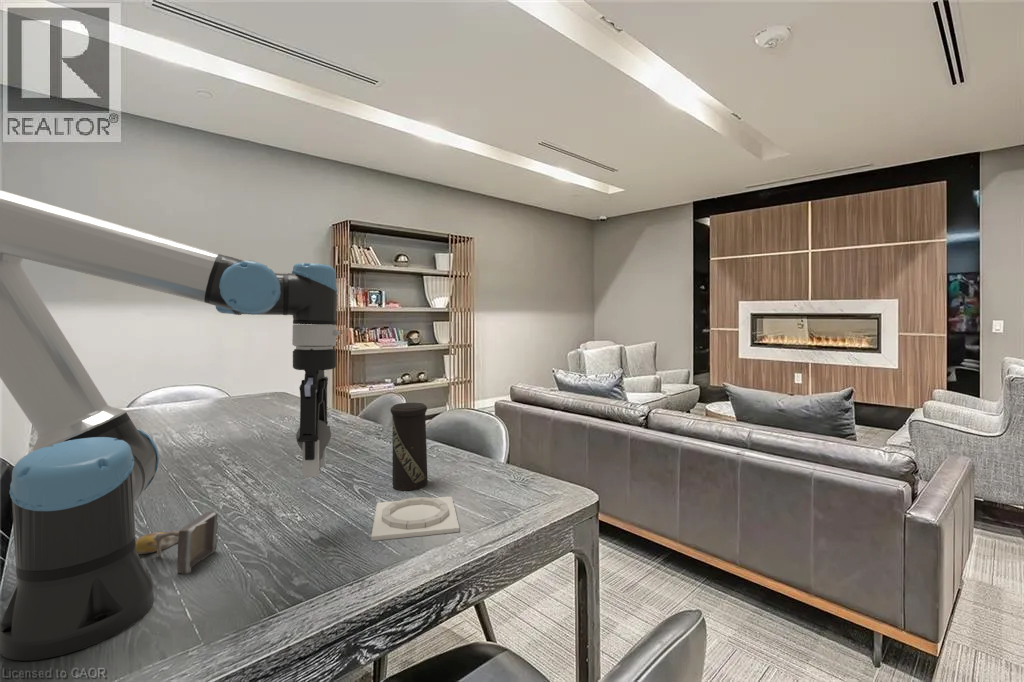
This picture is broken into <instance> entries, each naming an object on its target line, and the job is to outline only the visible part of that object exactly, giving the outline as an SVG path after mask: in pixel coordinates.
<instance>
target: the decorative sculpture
mask: <svg viewBox="0 0 1024 682" xmlns="http://www.w3.org/2000/svg"><path fill="white" fill-rule="evenodd" d="M218 527H219V522H218V515H217V513H216V512H213V511H206V512H204V513H202V514H201V515H200V516H198V517H196V518H195V519H194V520H192V521H190V522H189V523H188V524H186V525H185V526H183V527H182V528H180V530H171V531H155V532H150V533H146V534H143V535H140V536H139V537H138V538H137V539H135V540H136V551H137V553H138V555H145V554H146V555H147V554H151V553H155V552H156V554H157V555H158V557H159V558H160V557H162V550H164V549H165V550H166V549H168V548H170V547H172V546H174V545H176V544H177V558H176V560H177V562H176V571H177V573H178V574H190V573H192V567H194V565H196V564H198V563H199V562H200V561H204V560H205V559H206V558H207V557H208V556H209V555H211V554H214V553H216V551H217V546H218V545H217V544H218V542H219V539H218V536H217V535H218Z"/></svg>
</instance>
